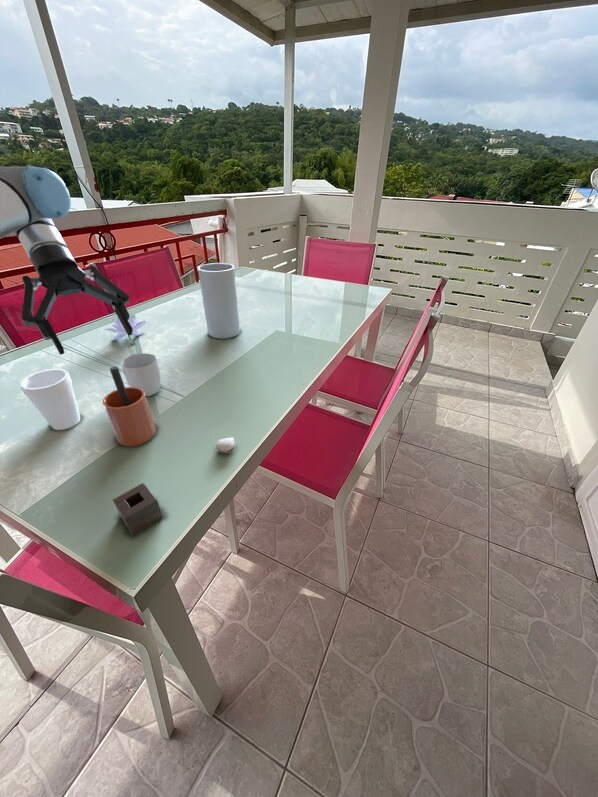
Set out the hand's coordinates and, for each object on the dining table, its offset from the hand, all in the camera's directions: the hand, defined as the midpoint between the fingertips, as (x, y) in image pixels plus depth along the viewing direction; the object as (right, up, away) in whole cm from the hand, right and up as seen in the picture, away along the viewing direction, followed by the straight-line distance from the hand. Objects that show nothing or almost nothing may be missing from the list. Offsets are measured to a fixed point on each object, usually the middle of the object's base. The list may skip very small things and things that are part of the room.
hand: (98, 341), depth 70 cm
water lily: (-21, +10, +55) cm, 60 cm away
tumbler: (+3, -21, +11) cm, 24 cm away
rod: (+3, -20, +11) cm, 23 cm away
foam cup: (-17, -18, +14) cm, 29 cm away
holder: (+13, -34, -8) cm, 38 cm away
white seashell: (+26, -24, +7) cm, 36 cm away
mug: (-2, -9, +28) cm, 30 cm away
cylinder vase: (+13, +14, +62) cm, 64 cm away
